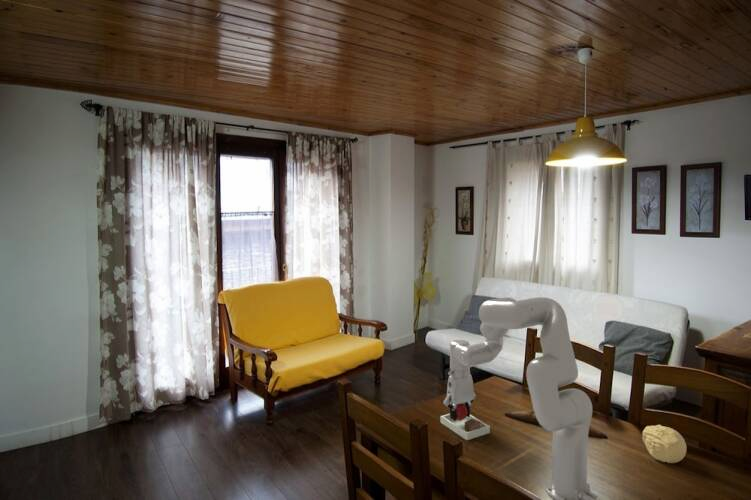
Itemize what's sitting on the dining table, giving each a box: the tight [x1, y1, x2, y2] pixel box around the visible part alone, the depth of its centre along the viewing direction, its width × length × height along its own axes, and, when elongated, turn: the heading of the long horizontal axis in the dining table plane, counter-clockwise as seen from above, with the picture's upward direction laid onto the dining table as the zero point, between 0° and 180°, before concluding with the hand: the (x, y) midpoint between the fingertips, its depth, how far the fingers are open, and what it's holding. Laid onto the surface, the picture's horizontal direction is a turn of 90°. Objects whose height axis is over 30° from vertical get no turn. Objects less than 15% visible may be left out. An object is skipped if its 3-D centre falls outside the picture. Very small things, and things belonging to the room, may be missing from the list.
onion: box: [455, 403, 468, 421], centre depth 177 cm, size 6×6×8 cm
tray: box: [439, 413, 491, 441], centre depth 175 cm, size 16×11×3 cm
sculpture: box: [642, 424, 687, 464], centre depth 153 cm, size 12×12×11 cm
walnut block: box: [465, 419, 480, 432], centre depth 171 cm, size 4×4×4 cm
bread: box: [504, 410, 609, 439], centre depth 176 cm, size 38×5×5 cm, turn 59°
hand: (459, 416), depth 177 cm, fingers closed on onion, 5 cm apart
